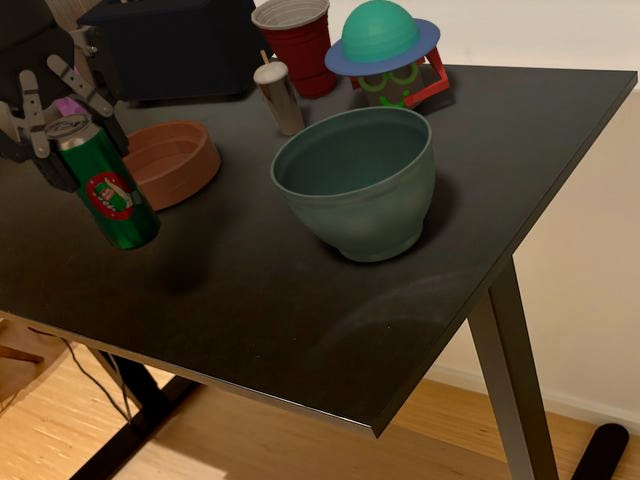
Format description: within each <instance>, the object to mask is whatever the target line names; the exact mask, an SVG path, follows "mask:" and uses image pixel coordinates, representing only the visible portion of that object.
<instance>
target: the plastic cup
mask: <svg viewBox="0 0 640 480" xmlns="http://www.w3.org/2000/svg"><path fill="white" fill-rule="evenodd" d="M330 8H331V2H330V0H266V1H265V2H263V3H261V4H260V5H258V6H256V9H255V10H254V12H253V13H252V14H251V16H252V21H253V23H254V24H255V25H257V26H258V28H259V29H260V31H261V33H262V34H263V35H264V37H265V39H266V41H268V43H269V45H270V46H271V48H272V50H273V52H274V55H275V57H276V60H277V62H282V63H284V64H285V65H286V66H287V68H288V71H289V75H290V78H291V82H292V85H293V88H294V89H295V91H296V92H297V93H298V95H299V96H300V97H301V98H303V99H309V100H310V99H311V100H312V99H318V98H321V97H324V96H326V95H328V94H330V93H331V92H333V91H334V90H335V89H336V88H337V86H338V85H337V74H336V73H334V72H332V71H331V70H329V69H328V68H327V67H326V65H325V56H326V54H327V52H328V50H329V49H330V47H331V46H332V41H331V35H330V29H329V9H330Z"/></svg>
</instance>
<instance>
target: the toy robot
mask: <svg viewBox="0 0 640 480" xmlns="http://www.w3.org/2000/svg"><path fill="white" fill-rule="evenodd" d="M440 40H441V29H440V28H439V27H438V26H437V25H436V24H435V23H434V22H432V21H431V20H427V19H423V18H416V17H413V15H411V14H410V13H409V11H407V9H405V8H404V7H403V6H401V5H400V4H398V3H396V2H393V1H391V0H368V1H365V2H363V3H361V4H359V5H358V6H356V7H355V8H354V9H353V10H352V11H351V12H350V13H349V14H348V17H347V18H346V19H345V21H344V24H343V27H342V31H341V37H340V38H339V39H337V41H335V42H334V43H333V44H331V47H330V49H329V50H328V52H327V54H326V56H325V65H326V67H327V68H328V69H329V70H331V71H332V72H334V73H335V74H336V75H339V76H344V77H348V78H349V82H350V84H351V87H352V89H353V91H355V90H358V89H361V88H362V89H363V90H364V94H365V97H366V99H367V103H368V107H377V106H378V107H380V106H387V107H399V108H404V109H409V110H411V111H413V110H414V108H416V107H418V106H419V105H420V104H421V103H423V101H424V100H425V99H427V98H429V97H431V96H433V95H435V94H438V93H439V92H440V93H441V92H443V91H444V90H446V89H448V88H451V87H450V83H449V78H448V76H447V73H446V70H445V67H444V64H443V61H442V58H441V56H440V53H439V50H438V46H437V45H438V43H439V41H440ZM426 60H427V61H426ZM426 62H428V63H429V65H430V66H431V68H432V70H433V71H434V73H435V75H436V76H437V77H438V79H439V80H437V81H436V82H434V83H432V84H430V85H428V86H427V87H425V86H424V82H423V78H422V73H421V70H420V66H421V65H422V64H423V65H424V64H425V63H426Z"/></svg>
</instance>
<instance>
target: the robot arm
mask: <svg viewBox="0 0 640 480" xmlns="http://www.w3.org/2000/svg"><path fill="white" fill-rule="evenodd" d="M75 47H76V48H77V50H78V52H79V53H80V54H81V55H84V56H85V59H86V62H87V65H88V68H89V70H90V73H91V76H92V79H93V82H94V84H95V87H96V89H94V88H93V87H92V86H91V85H90V84H89V83H87V82H86V81H85V80H84V79H83V78H82V77H80V76H79V75H78V74H77V73H76V72H75V71H74V57H75ZM124 97H125V90H124V87H123V84H122V81H121V78H120V75H119V72H118V69H117V66H116V63H115V60H114V57H113V54H112V51H111V48H110V45H109V42H108V39H107V36H106V33H105V31H104V30H103V29H102V28H100V27H94V26H86V25H79V26H78V27H77V29H76V30H74V31H70V32H67V31H66V30H64V29H63V28H62V27H61V26H59V25H58V23H57V22H56V21H55V19H54V16H53V13H52V11H51V10H50V8H49V6H48V5H47V3H46V1H45V0H0V102H2V103H4V106H5V110H6V113H7V117H8V121H9V123H10V125H12V127H13V128H14V131H15V135H16V139H17V141H15V140H13V138H12V137H11V136H10V135H8V134H7V132H5V131H4V130H3V129H2V128H1V127H0V158H1V159H4V160H8V161H11V162H13V163H16V164H24V163H25V162H26V161H30V160H31V162H32V163H33V164H34V166H35V167H36V168H37V170H38V171H39V174H41V176H42V177H43V178H44V180H45V181H46V182H47V184H48V185H49V186H50V187H52V188H53V189H56V190H59V191H61V192H66V193H69V194H73V193H74V194H75V191H76V190H78V189H79V187H78V185H77V184H76V182H75V181H74V179H73V178H72V176H71V175H70V173H69V172H68V170H67V169H66V168H65V166H64V165H63V163H62V162H61V160H60V159H59V157H58V156H57V154H56V153H54V152H51V151H50V148H49V145H48V141H47V137H46V133H45V128H46V127H47V122H46V118H45V114H44V111H45V110H47V109H48V108H50V107H51V106H52V104H53V103H54V101H55V100H58V99H62V98H63V99H66V98H70V99H72V100H73V101H75V102H76V103H77V104H78V105H79V106H81V107H82V108H83V109H84V110H85V111H87V112H88V113H89V114H90V115H92V118H93V119H94V120H96V121H98V122H99V123H101V124H102V125H103V127H104V129H105V130H106V132H107V134H108V135H109V137H110V139H111V140H112V142H113V144H114V145H115V147H116V148H117V150H118V152H119V153H120V155H121V157H122V158H124V157H126V156H127V155H129V154H130V152H129V150H128V148H127V147H128V146H130V144H129V139H128V138H127V134H126V132H125V131H124V130H123V127H122V125H121V124H120V122H119V121H118V119H117V117H116V116H115V113H114V110H115V106H116V105H117V103H118V102H119V101H121V100H122V99H124Z"/></svg>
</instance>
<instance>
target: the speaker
mask: <svg viewBox="0 0 640 480" xmlns="http://www.w3.org/2000/svg"><path fill="white" fill-rule="evenodd" d="M256 8H257V6H256V2H255V0H102V1H100V2H99V3H98V4H96V5H95V6H94V7H93V8H91V9H90V10H89V11H87V12H86V13H85V14H83V15H82V16H81V17H79V18H78V19H77V20H76V23H77V25H78V26H79V25H86V26H94V27H100V28H102V29H103V30H104V31H105V33H106V36H107V39H108V42H109V45H110V48H111V51H112V54H113V57H114V60H115V63H116V66H117V69H118V72H119V75H120V78H121V81H122V84H123V87H124V90H125V97H124V99H122V100H120V101H121V102H122V103H133V102H134V103H135V102H138V103H139V104H140V105H141V106H149V105H150V104H152V103H153V101H160V100H161V101H163V100H176V99H177V100H178V99H189V98H202V97H203V98H204V97H217V96H228V97H229V98H230V99H231V100H235V99H239V98H240V97H241V94H242V93H243V91H244V90H245V89H246V88H247V86H249V85H250V83H251V82H252V81H253V80H254V74H255V72H256V70H257V69H258V68H259V67H261V66H263V65H266V64H265V61H264V59H263V56H262V54H261V50H264V52H265V54H266V57H267V59H268V62H269V61H270V60H271V59H272V58H273V57H274V55H275V53H274V52H273V50H272V48H271V46H270V45H269V43H268V41H266V39H265V37H264V35H263V34H262V33H261V31H260V29H259V28H258V26H257V25H255V24H254V23H253V21H252V16H251V14H252V13H253V12H254V10H255V9H256Z"/></svg>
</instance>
